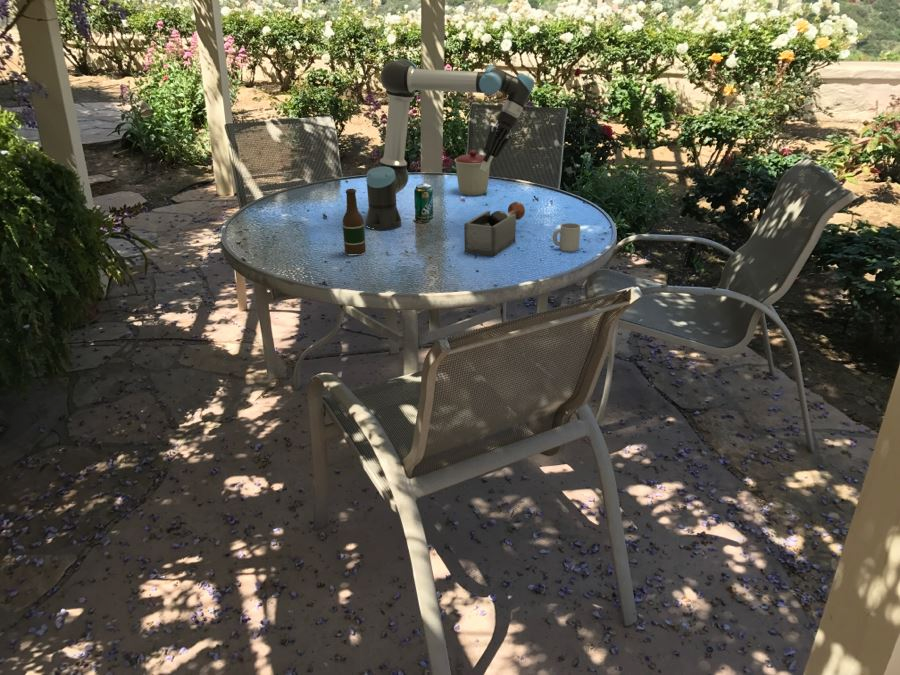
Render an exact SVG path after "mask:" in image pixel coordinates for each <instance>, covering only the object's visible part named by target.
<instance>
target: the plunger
mask: <svg viewBox="0 0 900 675" xmlns="http://www.w3.org/2000/svg"><path fill="white" fill-rule="evenodd" d="M525 213H526V209H525V206H524V204H522V203H521V202H518V201H514V202H511V203H510V204H509V206H508V207H507V213H506V212H504V211H502V210H497V211H494V212H492V213H490V215H491V216H490V218H489V224H490V226H494V225H496V224H497V223H499V222H501V221H502V220H504V219H505V218H507V217H509V216H510V215H512V214H516V221H517V220H520V219H522V218H524V216H525Z"/></svg>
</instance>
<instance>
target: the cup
mask: <svg viewBox="0 0 900 675" xmlns="http://www.w3.org/2000/svg"><path fill="white" fill-rule="evenodd" d="M558 234H560V235H559V241H558ZM580 235H581V225H580V224H579V223H573V222H565V223H562V224H560V227H559V228H557V229H555V230H554V231H553V234H552V242H553V244H554V245H555V246H557V247H559V249H560V250H561V251H562V250H563V252H567V251H568V252H571V253H572V252H577V251H578V250H579V249H580V238H581V237H580Z"/></svg>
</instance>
